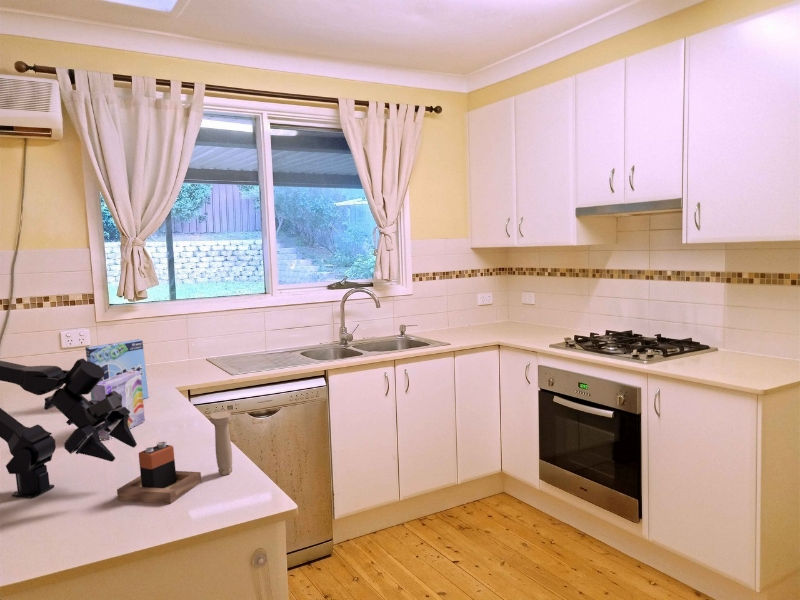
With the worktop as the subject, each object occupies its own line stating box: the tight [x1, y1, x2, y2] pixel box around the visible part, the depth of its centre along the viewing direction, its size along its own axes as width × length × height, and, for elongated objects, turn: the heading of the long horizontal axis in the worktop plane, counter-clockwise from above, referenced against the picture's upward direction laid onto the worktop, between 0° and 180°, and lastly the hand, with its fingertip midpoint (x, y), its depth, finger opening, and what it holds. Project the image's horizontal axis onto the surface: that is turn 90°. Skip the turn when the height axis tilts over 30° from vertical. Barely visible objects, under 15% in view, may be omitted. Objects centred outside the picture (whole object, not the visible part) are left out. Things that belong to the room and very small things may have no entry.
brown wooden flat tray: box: [116, 470, 202, 504], centre depth 142 cm, size 14×12×2 cm
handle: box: [209, 410, 233, 476], centre depth 150 cm, size 5×6×15 cm
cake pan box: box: [93, 371, 146, 440], centre depth 191 cm, size 19×5×18 cm, turn 168°
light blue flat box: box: [85, 339, 150, 401], centre depth 227 cm, size 19×5×23 cm, turn 134°
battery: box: [138, 441, 177, 488], centre depth 141 cm, size 4×7×10 cm, turn 149°
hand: (125, 452), depth 142 cm, fingers open, 9 cm apart
